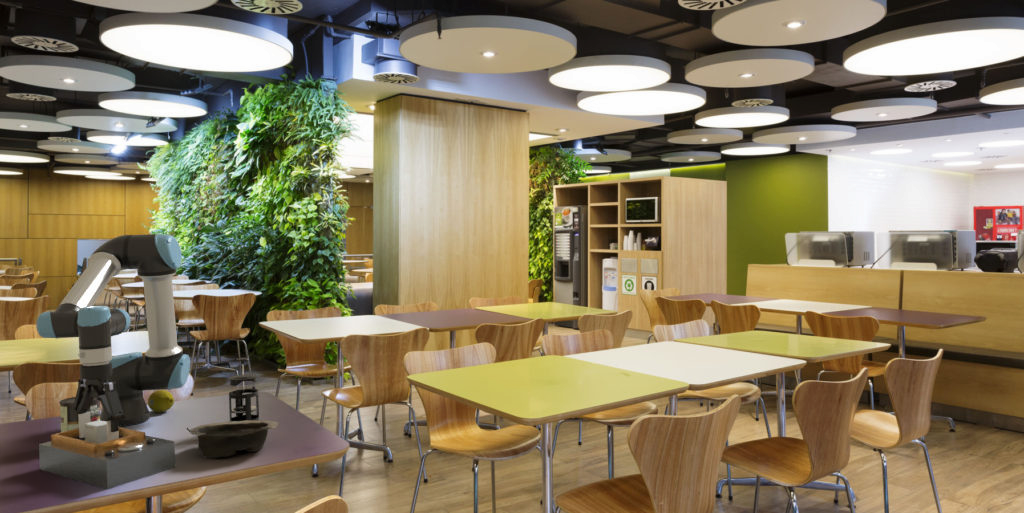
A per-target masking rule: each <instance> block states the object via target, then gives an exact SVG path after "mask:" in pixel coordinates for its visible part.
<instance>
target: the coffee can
mask: <svg viewBox="0 0 1024 513" xmlns="http://www.w3.org/2000/svg"><path fill="white" fill-rule="evenodd" d="M75 397H76V396H74V397H73V396H72V397H68V398H65V399H61V400H60V401H59V407H60V408H59V409H60V410H59V411H60V433H61V432H65V431H69V430H73V429H77V428H79V417H78V414H77V411H74V410H73V405H74V401H75ZM100 404H101V402H100V401H99V400H97V398H95V397H94V399H93V401H92V404H91V406H90V408H89V409H90V410H91V411H88V412H90V422H94V421H98V420H100V413H101V409H100V408H101V407H100ZM78 406H79V405H78ZM86 413H87V412H86Z"/></svg>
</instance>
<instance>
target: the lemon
mask: <svg viewBox="0 0 1024 513" xmlns="http://www.w3.org/2000/svg"><path fill="white" fill-rule="evenodd" d="M174 403H175V398H174V396H173V394H172V393H171V392H170V391H168V390H166V389H164V390H154V391H153V392H151V394H150V395H149V396H148V399H147V407H149V408H148V409H150V410H151V411H152V412H154V413H163V412H166V411H168V410H170V409H171V408H172V407H173V405H174Z"/></svg>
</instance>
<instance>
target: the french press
mask: <svg viewBox="0 0 1024 513" xmlns="http://www.w3.org/2000/svg"><path fill="white" fill-rule="evenodd" d="M249 360H250V358H249V357H239V358H237V359H235V361H238V362H240V363H241V366H242V374H237V375H233V376H230V377H228V379H227V380H229V385H230V386H233V387H236V386H239V385H240V384H241V383H242V389H241V388H240V389H239V388H237V389H235V390H231V391H229V392H228V409H229V412H228V413H229V415H228V416H229V422H232V421H245V420H255V421H260V413H259V412H260V408H259V407H260V406H259V405H260V404H259V389H257V388H245V382H253V383H254V384H257V378H258V376H259V375H257V374H254V373H253V374H251V373H250V374H249V373H248V374H247V373H246V374H245V373H244V371H245V370H244V369H245V368H244V367H245V366H244V365H245V361H249ZM254 397H255V399H256V400H255V402H256V403H255V404H256V405H252V398H254ZM232 399H233V400H234V402H235V407H232ZM254 412H256V414H253V413H254ZM233 414H235V416H233Z"/></svg>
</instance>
